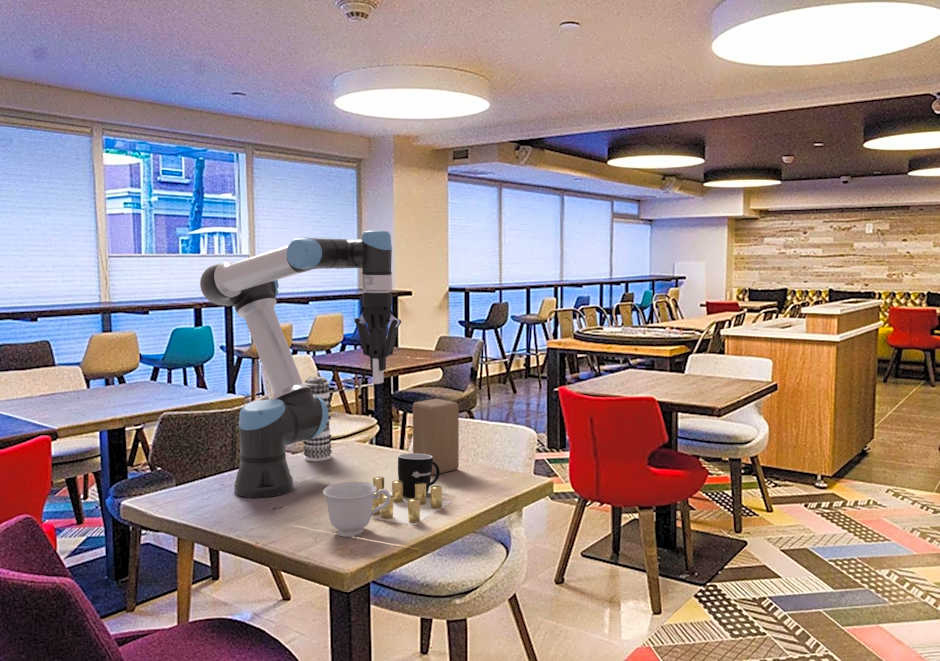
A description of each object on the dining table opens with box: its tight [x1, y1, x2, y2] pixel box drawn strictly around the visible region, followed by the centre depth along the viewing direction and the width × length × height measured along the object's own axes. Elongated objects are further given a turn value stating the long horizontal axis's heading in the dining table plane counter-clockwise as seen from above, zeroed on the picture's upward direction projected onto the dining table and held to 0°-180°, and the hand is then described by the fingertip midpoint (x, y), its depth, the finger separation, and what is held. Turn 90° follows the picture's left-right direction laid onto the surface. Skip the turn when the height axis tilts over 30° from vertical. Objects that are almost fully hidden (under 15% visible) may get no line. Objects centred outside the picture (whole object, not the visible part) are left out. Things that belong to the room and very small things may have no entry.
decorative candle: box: [302, 376, 333, 462], centre depth 235 cm, size 9×9×25 cm
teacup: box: [322, 481, 390, 538], centre depth 171 cm, size 12×15×10 cm
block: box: [412, 398, 460, 476], centre depth 221 cm, size 10×10×20 cm
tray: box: [371, 491, 453, 526], centre depth 188 cm, size 23×19×1 cm
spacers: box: [372, 476, 443, 524], centre depth 186 cm, size 20×15×5 cm
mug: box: [397, 452, 441, 498], centre depth 198 cm, size 12×9×10 cm
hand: (378, 382), depth 196 cm, fingers closed
